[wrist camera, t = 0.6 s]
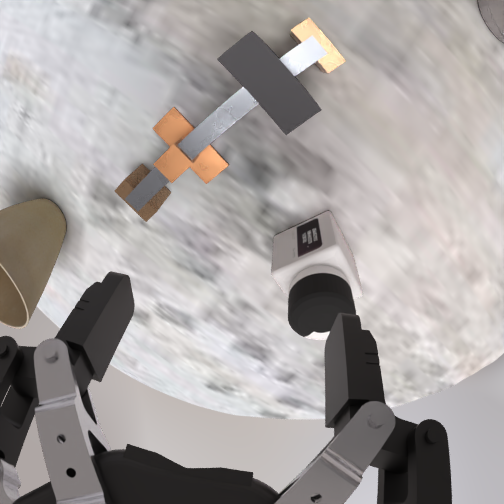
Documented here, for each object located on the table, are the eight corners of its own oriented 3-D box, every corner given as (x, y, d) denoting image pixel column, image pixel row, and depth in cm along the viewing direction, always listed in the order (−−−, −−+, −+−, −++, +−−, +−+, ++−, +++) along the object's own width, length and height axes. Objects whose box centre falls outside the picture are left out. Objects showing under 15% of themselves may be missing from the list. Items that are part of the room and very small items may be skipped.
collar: (262, 40, 25) (252, 30, 16) (309, 94, 27) (321, 109, 19) (238, 59, 26) (217, 59, 17) (285, 111, 29) (286, 135, 20)
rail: (291, 9, 24) (293, -2, 19) (348, 76, 27) (363, 80, 22) (121, 163, 35) (96, 183, 30) (172, 213, 38) (154, 240, 33)
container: (272, 235, 39) (266, 311, 28) (329, 208, 36) (346, 280, 25) (301, 278, 42) (303, 356, 32) (354, 256, 39) (373, 332, 29)
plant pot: (5, 189, 38) (-61, 243, 25) (62, 163, 35) (-19, 224, 22) (41, 263, 46) (-8, 327, 33) (101, 254, 43) (48, 332, 30)
